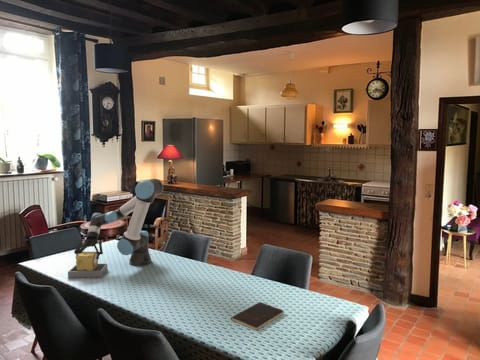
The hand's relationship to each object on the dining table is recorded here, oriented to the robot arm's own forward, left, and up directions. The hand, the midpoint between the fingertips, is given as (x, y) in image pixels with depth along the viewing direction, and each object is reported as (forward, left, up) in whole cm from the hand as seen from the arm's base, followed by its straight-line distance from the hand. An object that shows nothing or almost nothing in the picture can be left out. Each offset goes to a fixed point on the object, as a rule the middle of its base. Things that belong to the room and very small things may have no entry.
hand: (85, 263), depth 241 cm
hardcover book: (-106, +60, -9) cm, 122 cm away
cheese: (0, -3, -4) cm, 5 cm away
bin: (-1, -3, -8) cm, 9 cm away
